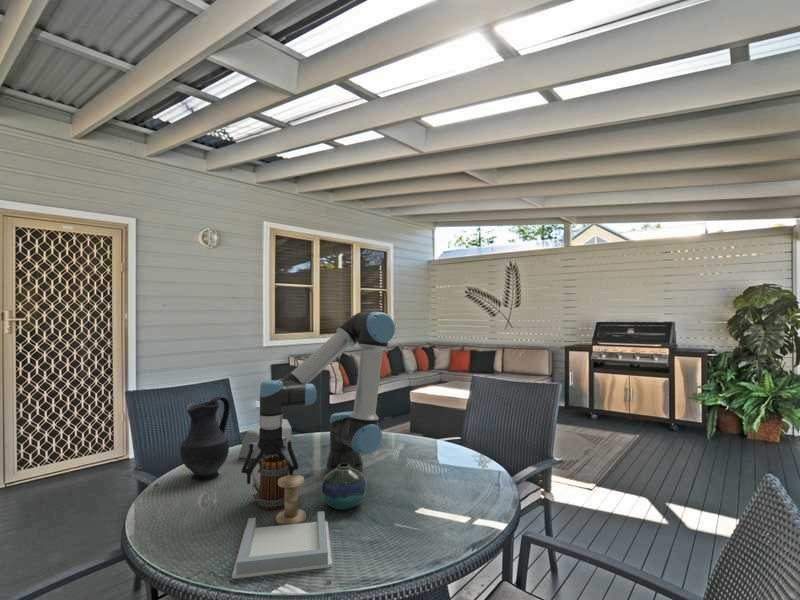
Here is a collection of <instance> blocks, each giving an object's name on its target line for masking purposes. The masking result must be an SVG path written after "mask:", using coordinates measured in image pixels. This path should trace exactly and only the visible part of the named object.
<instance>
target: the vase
mask: <svg viewBox="0 0 800 600" xmlns="http://www.w3.org/2000/svg"><path fill="white" fill-rule="evenodd" d="M367 490H368V483H367V479H366V477H365V475H364V474H363V473H362V471H361V472H359V471H358V470H356V469H354V468H351V467H350V465H349V464H347V463H342V464H339V465H338V467H337V468H336V469H334V470H332V471H331V472H329V473H327V474H326V475H325V476H324V477H323V478H322V480H321V484H320V494H321V497H322V500H323V501H324V503H325V504H326V505H328V507H330V508H332V509H335V510H341V511H342V510H344V511H345V510H350V509H353V508H356V507H357V506H358V505H360V504H361V503H362V502H363V500H364V499H365V496H366V494H367Z"/></svg>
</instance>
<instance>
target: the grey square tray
mask: <svg viewBox="0 0 800 600" xmlns="http://www.w3.org/2000/svg"><path fill="white" fill-rule="evenodd" d="M256 520H257V519H256V517H249V518H248V519H247V523H246V527H245V529H244V531H243V535H242V538H241V542H240V546H239V549H238V552H237V553H238V554H237V555H236V560H235V564H234V568H233V571H232V575H231V579H232V580H234V579H243V578H249V577H258V576H259V577H262V576H268V575H277V574H278V575H279V574H285V573H286V574H287V573H295V572H300V571H311V570H319V569H320V570H321V569H328V568H333V561H332V552H331V544H330V543H331V542H330V531H329V523H328V520H326V516H325V511H323V510H322V511H317V521H312V522H304V523H302V522H300V523H297V524H291V525H282V524H279V525H271V526H260V527H257V526H256V525H257V523H256Z"/></svg>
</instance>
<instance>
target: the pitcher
mask: <svg viewBox="0 0 800 600" xmlns="http://www.w3.org/2000/svg"><path fill="white" fill-rule="evenodd" d="M219 400H220V401H222V403H223V413H222V418H221V421H220V423H219V424H218V422H217V421H218V420H217V417H216V416H217V412H218V408H219V407H220V405H221V403H220V402H219ZM230 406H231V405H230V401H229V400H228V398H227V397H224V396H220V395H218V396H215V397H213V398H212V399H211V400H210V401H202V402H201V401H200V402H195V403H189V405H188V406H187V407H186V412H187V413H188V416H189V417H190V424H189V430H188V433H187V436H186V438H185V439H184V440H183V441H182V443H181V444H180V457H181V458H180V459H181V461H182V463H183V464H184V466H185V467H186V468H187V469H188V470H189V471H191V472H192V473H193V474H192V476H191V480H192V481H195V482H206V481H212V480H214V479H216V478H218V477H219V475H220V473H219V472H218V471H219V470H220V469H221V467H222V466H223V465H224V464H225V462H226V460H227V459H228V456H229V452H230V451H229V450H230V442H229V438H228V437H227V436H226V434H225V433H226V427H227V425H228V419H229V415H230V411H231V410H230V409H231V407H230Z"/></svg>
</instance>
